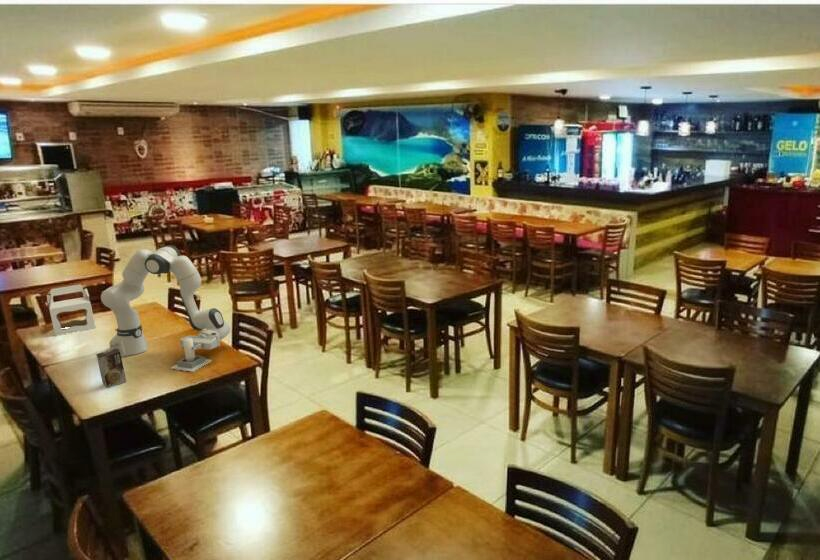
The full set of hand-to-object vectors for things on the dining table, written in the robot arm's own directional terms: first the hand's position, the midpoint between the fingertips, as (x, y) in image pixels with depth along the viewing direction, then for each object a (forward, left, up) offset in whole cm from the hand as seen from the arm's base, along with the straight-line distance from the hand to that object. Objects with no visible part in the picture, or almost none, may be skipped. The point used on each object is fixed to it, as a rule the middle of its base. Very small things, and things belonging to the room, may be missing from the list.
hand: (187, 348), depth 283 cm
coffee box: (-22, -27, -10) cm, 36 cm away
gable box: (-114, +25, -10) cm, 117 cm away
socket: (0, +1, -10) cm, 10 cm away
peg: (0, +1, -9) cm, 9 cm away
